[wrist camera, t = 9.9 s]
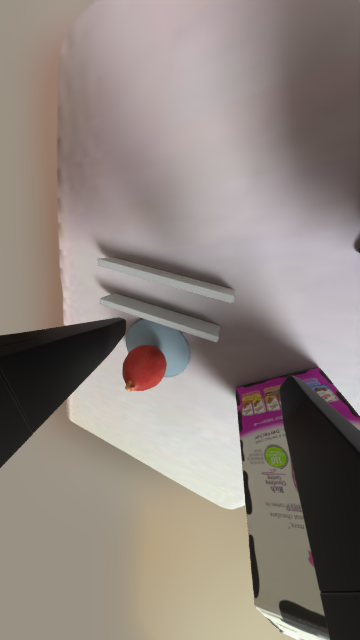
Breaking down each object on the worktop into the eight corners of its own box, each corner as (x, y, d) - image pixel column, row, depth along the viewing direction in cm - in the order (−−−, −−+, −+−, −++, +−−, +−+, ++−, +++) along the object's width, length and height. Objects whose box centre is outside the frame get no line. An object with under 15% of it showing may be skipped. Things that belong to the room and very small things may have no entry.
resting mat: (198, 331, 21) (197, 333, 21) (182, 383, 26) (181, 386, 26) (128, 309, 23) (127, 310, 22) (126, 362, 28) (124, 364, 27)
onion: (170, 369, 25) (148, 416, 18) (139, 358, 26) (106, 398, 19) (176, 341, 22) (153, 383, 15) (141, 330, 23) (104, 364, 16)
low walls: (233, 289, 17) (235, 296, 15) (218, 330, 20) (216, 342, 17) (114, 257, 20) (97, 258, 17) (114, 298, 23) (100, 304, 20)
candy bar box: (249, 408, 24) (283, 637, 10) (234, 386, 23) (247, 605, 9) (334, 393, 19) (655, 812, 5) (320, 365, 18) (668, 782, 4)
